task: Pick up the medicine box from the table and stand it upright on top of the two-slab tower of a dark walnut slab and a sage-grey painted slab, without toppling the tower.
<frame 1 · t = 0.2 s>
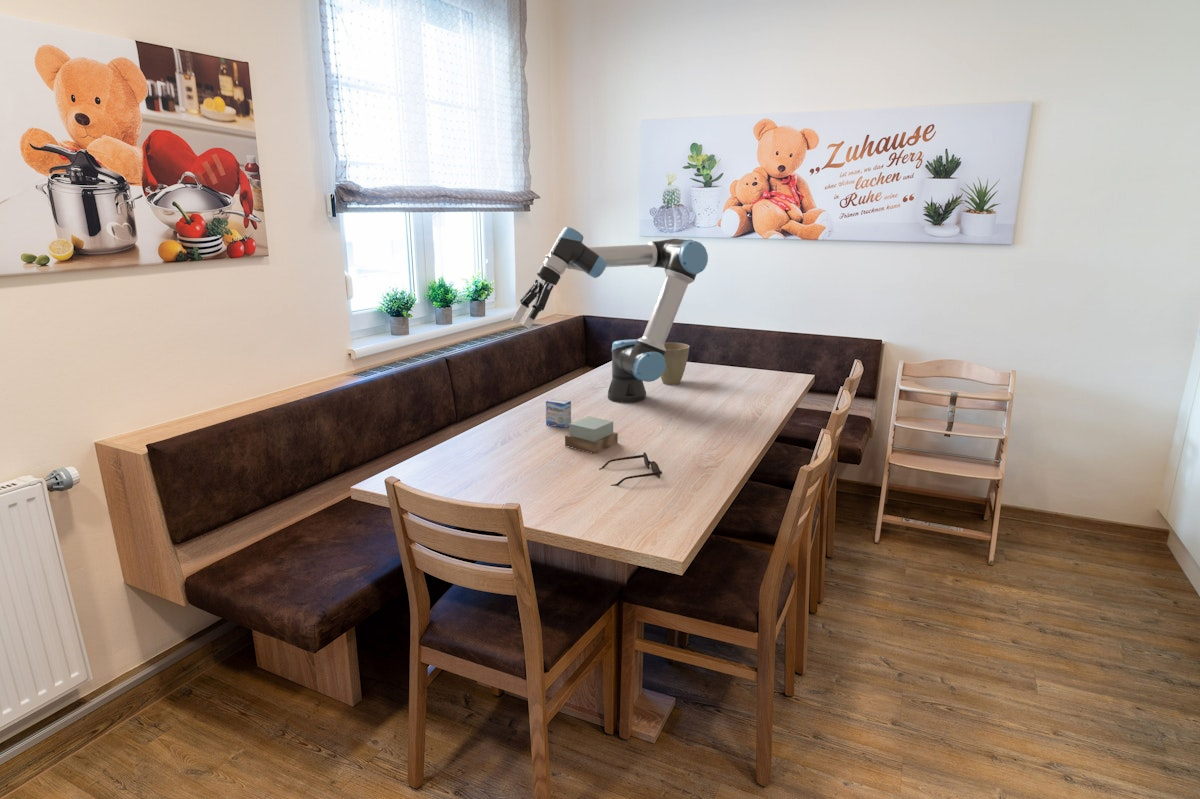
hand: (519, 324, 243), 35 cm above the table, tool tilted 35°, fingers open, 13 cm apart
medicine box: (558, 425, 251), on the table
eyeglasses: (628, 476, 206), on the table
sage slab: (591, 434, 230), point 3 cm above the table, touching walnut slab
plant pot: (670, 383, 305), on the table
walnut slab: (591, 446, 231), on the table, touching sage slab
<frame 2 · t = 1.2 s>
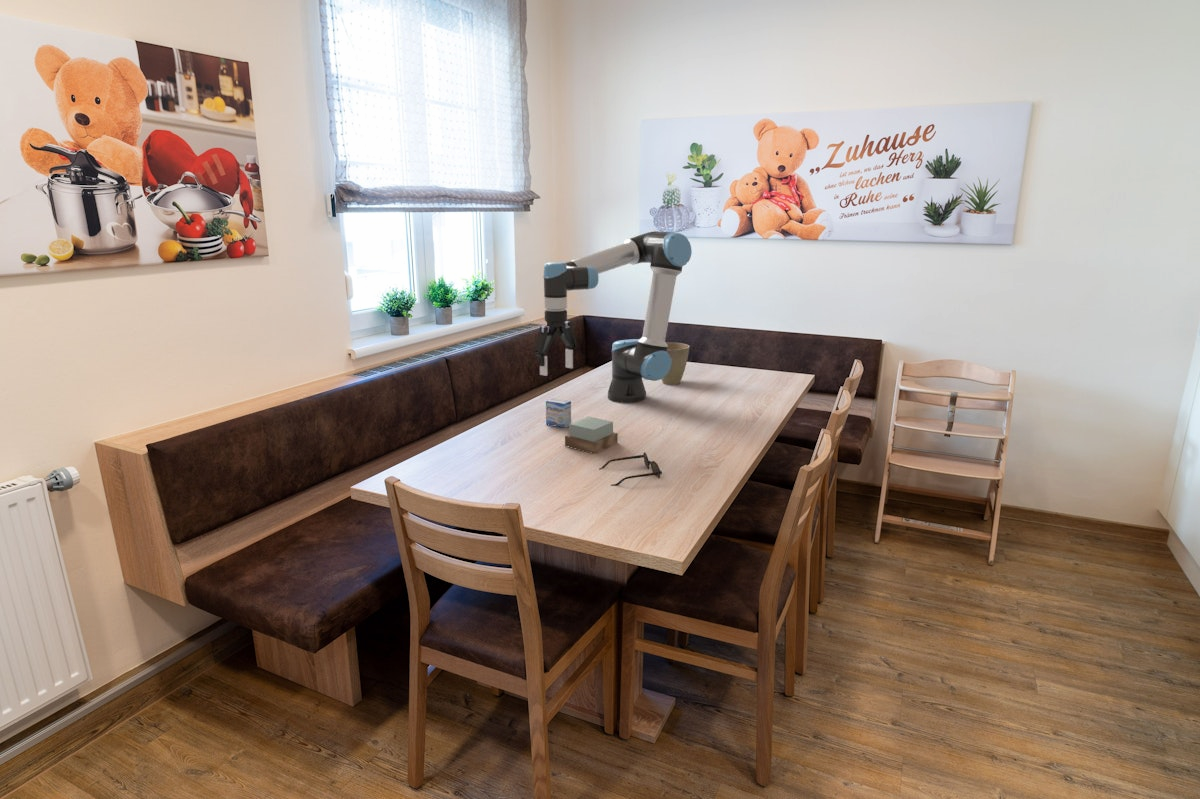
hand: (556, 371, 246), 19 cm above the table, tool pointing down, fingers open, 13 cm apart
nothing on the table moved.
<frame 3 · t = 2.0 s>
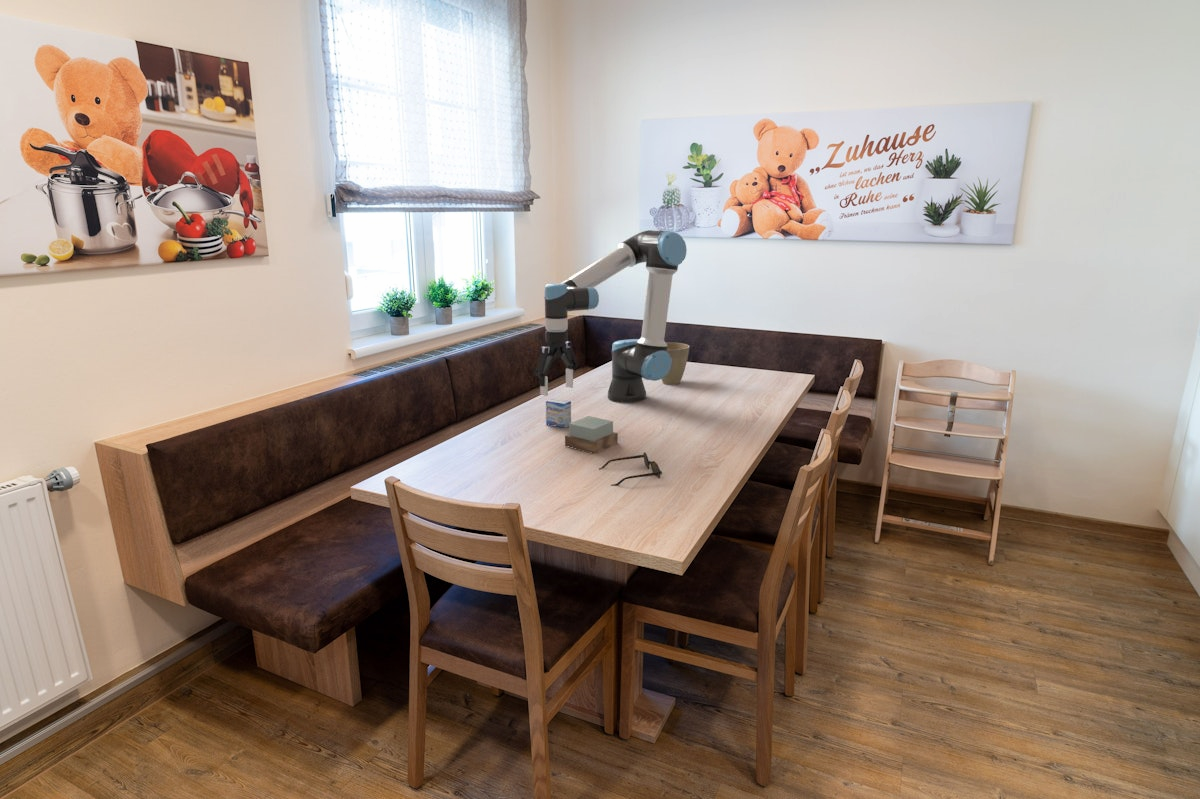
hand: (557, 391, 247), 12 cm above the table, tool pointing down, fingers open, 13 cm apart
sage slab: (591, 434, 230), point 3 cm above the table
walnut slab: (591, 446, 231), on the table
everything else where it was.
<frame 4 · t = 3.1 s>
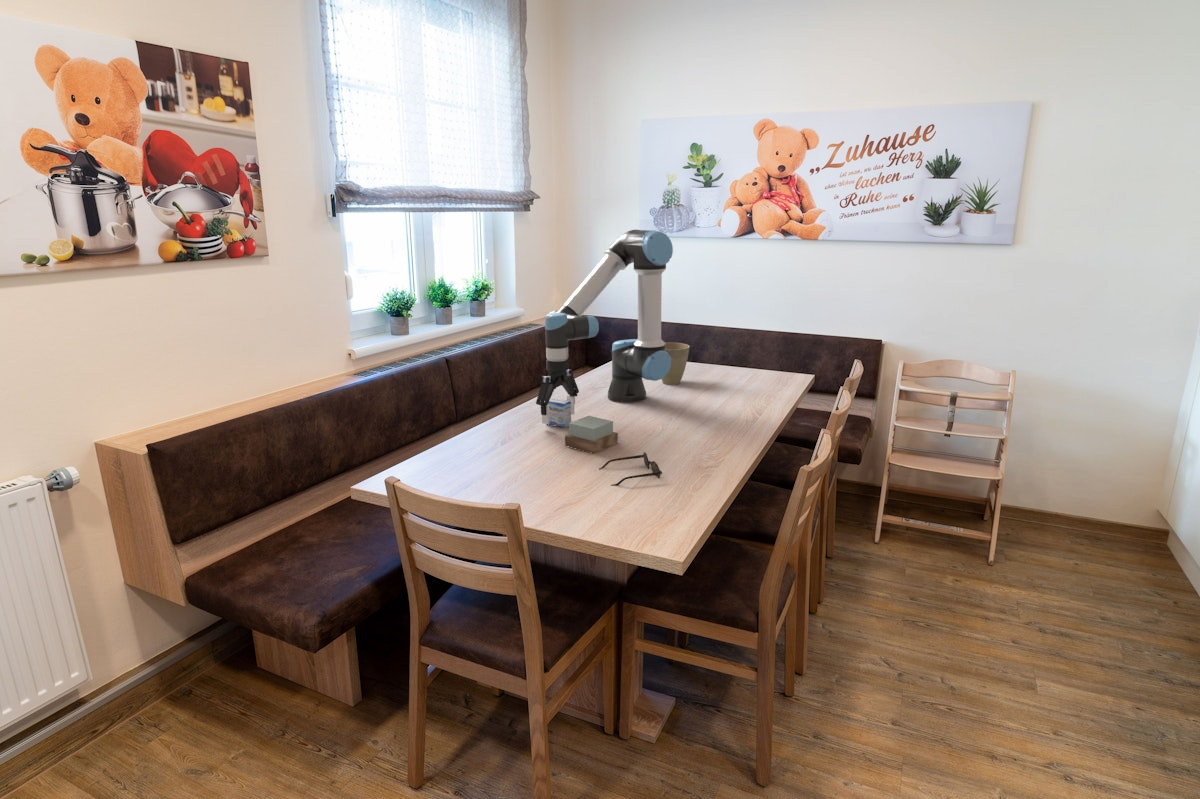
hand: (558, 418, 250), 2 cm above the table, tool pointing down, fingers open, 13 cm apart
sage slab: (591, 434, 230), point 4 cm above the table, touching walnut slab
walnut slab: (591, 446, 231), on the table, touching sage slab
everything else where it was.
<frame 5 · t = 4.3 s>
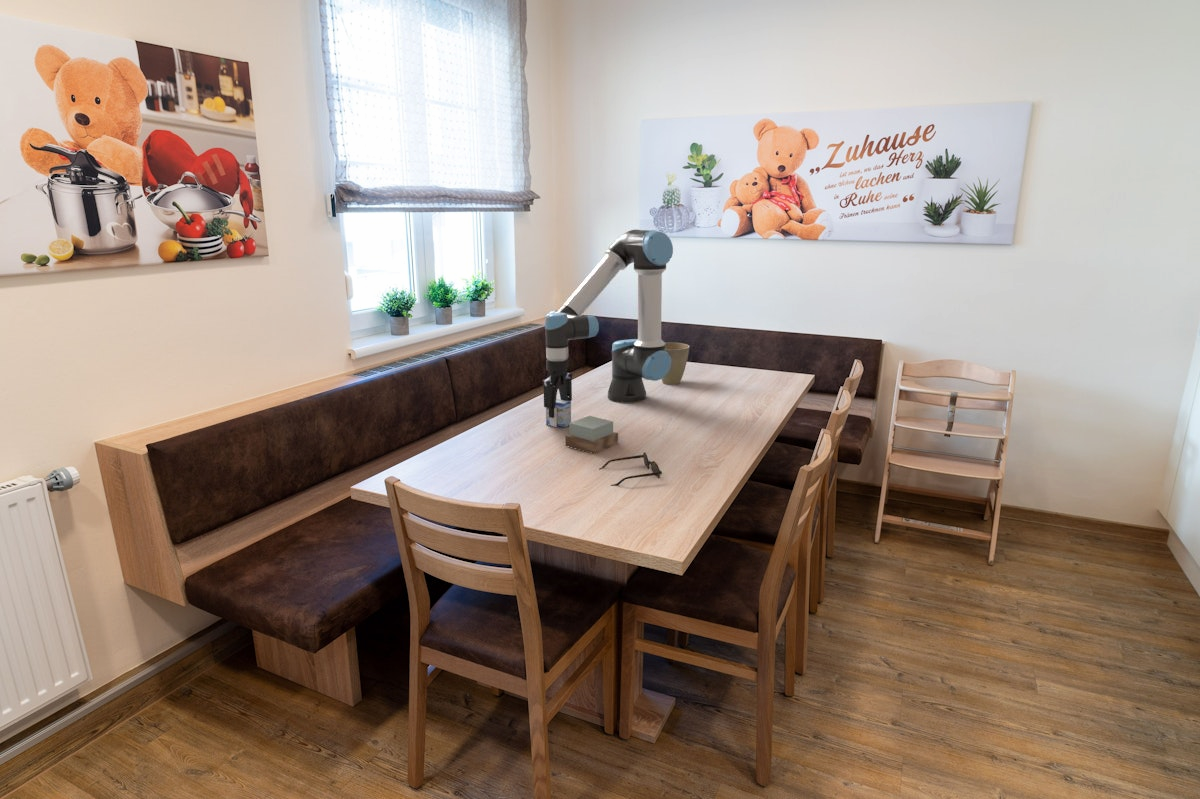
hand: (558, 423, 251), 0 cm above the table, tool pointing down, fingers closed on medicine box, 5 cm apart
medicine box: (558, 425, 251), on the table, touching gripper
everything else where it was.
when the fingers open (10 cm above the table, at t = 9.8 s): medicine box drops 2 cm, resting on sage slab.
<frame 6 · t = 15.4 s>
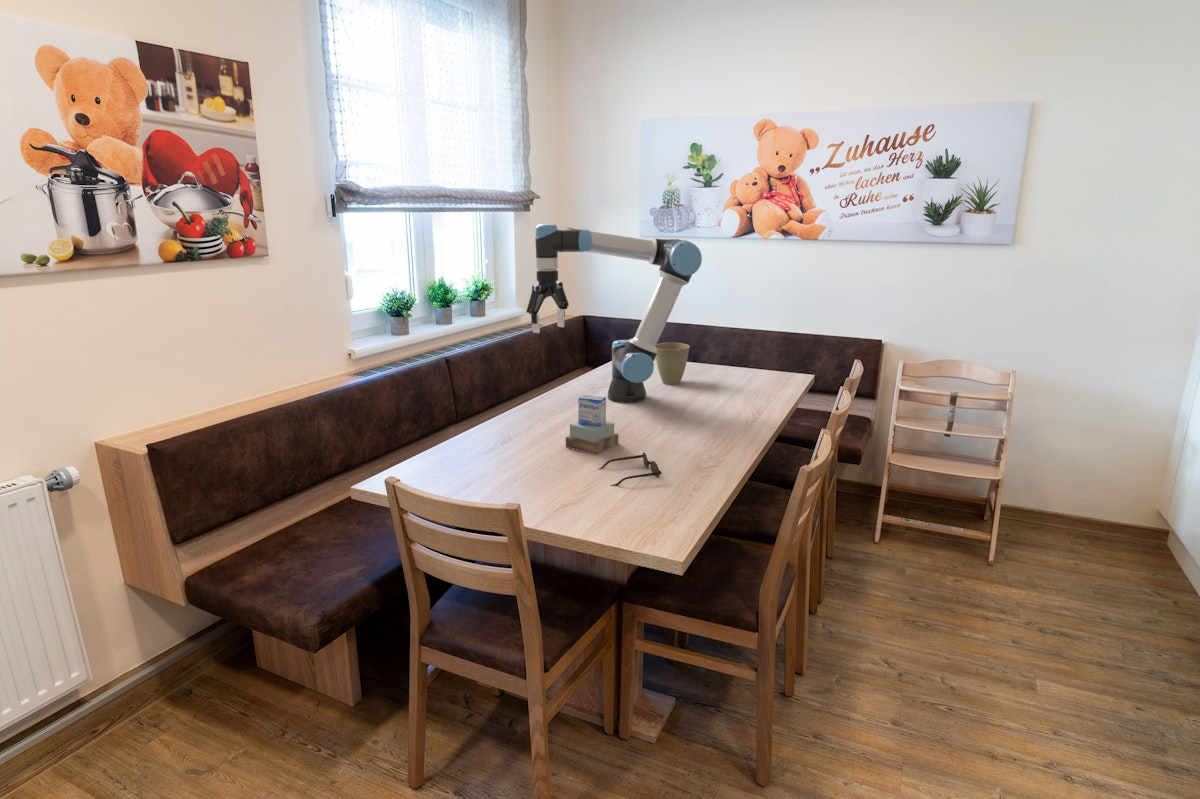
hand: (548, 329, 257), 31 cm above the table, tool pointing down, fingers open, 13 cm apart
medicine box: (592, 424, 228), point 7 cm above the table, touching sage slab
sage slab: (592, 435, 229), point 3 cm above the table, touching medicine box, walnut slab
everything else where it was.
at the end: medicine box inside the target area (0.4 cm from its centre), point 7.1 cm above the table; medicine box tilted 0°; sage slab 0.1 cm off-centre on the walnut slab, point 4.0 cm above the walnut slab's base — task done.
